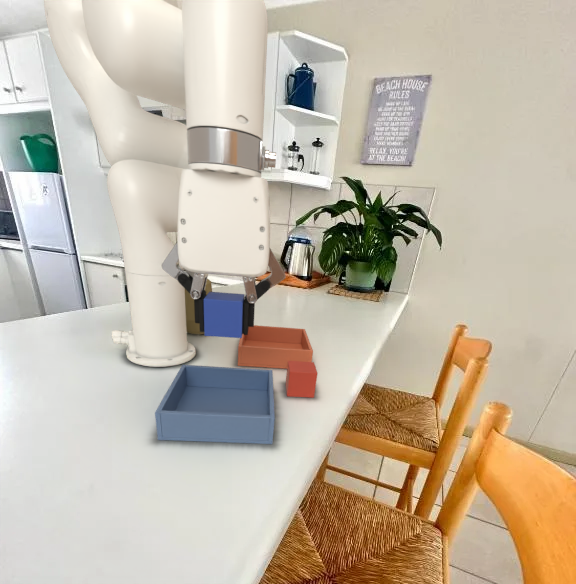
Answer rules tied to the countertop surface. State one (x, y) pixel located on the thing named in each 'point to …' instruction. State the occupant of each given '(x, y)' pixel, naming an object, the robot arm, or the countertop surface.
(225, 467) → the countertop surface
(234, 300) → the blue block
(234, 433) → the blue bin
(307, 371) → the red block
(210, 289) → the squeeze bottle
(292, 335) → the red bin
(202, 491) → the countertop surface
